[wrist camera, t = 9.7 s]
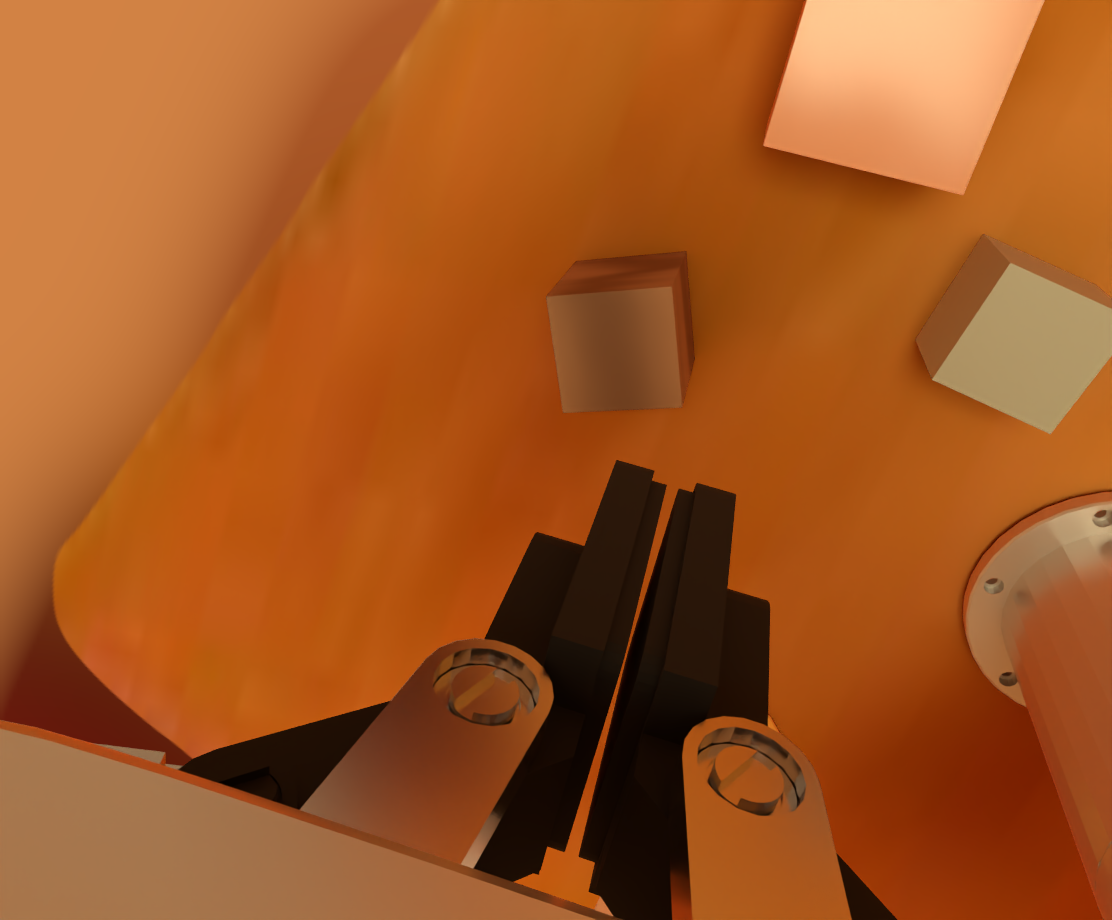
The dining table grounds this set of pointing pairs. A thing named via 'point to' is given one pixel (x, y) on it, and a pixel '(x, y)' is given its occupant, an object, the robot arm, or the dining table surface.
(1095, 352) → the greygreen block
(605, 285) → the walnut block
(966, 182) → the terracotta block
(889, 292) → the dining table surface
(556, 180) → the dining table surface
